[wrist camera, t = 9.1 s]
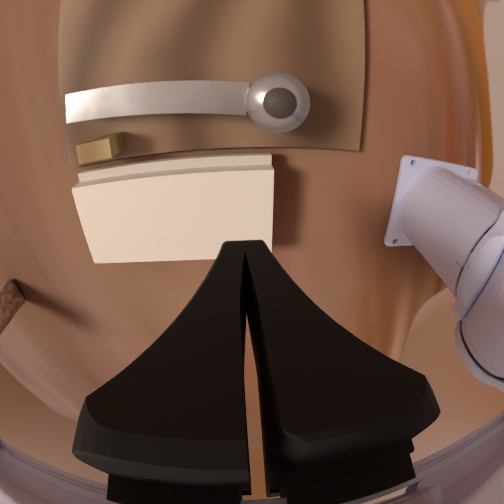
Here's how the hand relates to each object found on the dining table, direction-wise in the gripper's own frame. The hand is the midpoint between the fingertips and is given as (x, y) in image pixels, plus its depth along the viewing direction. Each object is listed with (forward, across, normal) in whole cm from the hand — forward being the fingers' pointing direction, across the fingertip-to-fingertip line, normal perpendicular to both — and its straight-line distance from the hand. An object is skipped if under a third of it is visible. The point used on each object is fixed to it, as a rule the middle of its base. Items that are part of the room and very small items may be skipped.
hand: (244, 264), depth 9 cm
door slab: (+10, +4, +2) cm, 11 cm away
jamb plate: (+10, +2, -10) cm, 14 cm away
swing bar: (+10, -2, -5) cm, 11 cm away
